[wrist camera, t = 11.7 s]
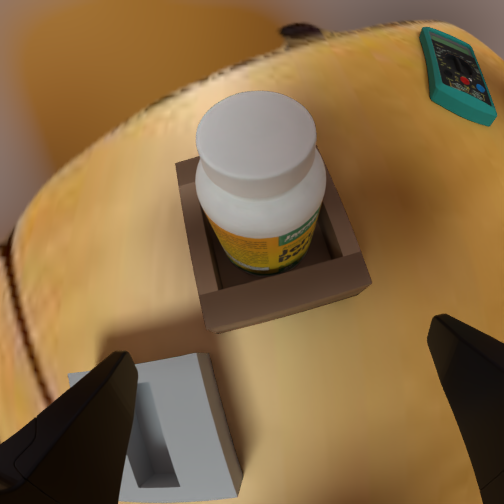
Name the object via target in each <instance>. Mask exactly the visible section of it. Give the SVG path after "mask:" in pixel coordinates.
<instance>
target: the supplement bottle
mask: <svg viewBox="0 0 504 504" xmlns="http://www.w3.org/2000/svg"><path fill="white" fill-rule="evenodd" d="M316 137H317V134H316V127H315V123H314V120H313V118H312V116H311V115H310V113H309V112H308V110H307V109H306V108H305V107H304V106H303V105H301V104H300V103H298V102H297V101H295V100H294V99H292V98H290V97H288V96H285V95H283V94H279V93H275V92H269V91H248V92H242V93H238V94H235V95H232V96H229V97H227V98H225V99H224V100H221V101H220V102H218V103H217V104H215V105H214V106H213V107H212V108H210V109H209V110H208V111H207V112H206V114H205V115H204V116H203V118H202V119H201V121H200V123H199V125H198V128H197V132H196V146H197V150H198V153H199V156H200V160H199V163H198V166H197V170H196V179H195V184H196V192H197V196H198V199H199V201H200V204H201V206H202V208H203V210H204V212H205V214H206V216H207V218H208V220H209V222H210V224H211V226H212V228H213V230H214V231H215V233H216V235H217V237H218V239H219V241H220V243H221V245H222V247H223V249H224V251H225V253H226V255H227V256H228V258H229V259H230V261H231V262H232V263H233V264H234V265H235V266H236V267H238V268H239V269H240V270H242V271H244V272H246V273H248V274H250V275H254V276H259V277H270V276H275V275H279V274H282V273H285V272H287V271H289V270H291V269H293V268H294V267H296V266H297V265H298V264H299V263H300V262H301V260H302V259H303V258H304V256H305V255H306V253H307V251H308V248H309V246H310V243H311V240H312V236H313V233H314V229H315V226H316V222H317V218H318V215H319V211H320V208H321V205H322V201H323V197H324V193H325V188H326V171H325V166H324V163H323V160H322V158H321V155H320V154H319V152H318V150H317V149H316Z"/></svg>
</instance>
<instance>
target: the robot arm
mask: <svg viewBox="0 0 504 504" xmlns="http://www.w3.org/2000/svg"><path fill="white" fill-rule="evenodd" d="M427 343H428V346H429V349H430V352H431V355H432V358H433V361H434V364H435V367H436V370H437V373H438V376H439V379H440V382H441V385H442V387H443V390H444V392H445V394H446V397H447V399H448V401H449V404H450V406H451V409H452V411H453V414H454V416H455V419H456V421H457V424H458V426H459V429H460V432H461V434H462V437H463V440H464V443H465V445H466V448H467V451H468V454H469V457H470V460H471V463H472V466H473V469H474V472H475V476H476V479H477V482H478V486H479V489H480V493H481V497H482V501H483V504H504V343H502V342H500V341H498V340H497V339H495V338H493V337H491V336H489V335H487V334H485V333H483V332H481V331H479V330H477V329H475V328H473V327H471V326H469V325H467V324H465V323H463V322H461V321H459V320H457V319H456V318H454V317H452V316H450V315H448V314H440V315H436V316H434V317H433V319H432V321H431V325H430V329H429V333H428V336H427ZM137 385H138V370H137V368H136V366H135V364H134V362H133V360H132V358H131V356H130V354H129V352H127V351H114V352H113V353H112V354H110V355H109V356H108V357H107V358H105V359H104V360H103V361H102V362H101V363H99V364H98V365H97V366H96V367H95V368H93V369H92V370H91V371H90V372H89V373H87V374H86V375H85V376H84V377H83V378H81V379H80V380H79V381H78V382H77V383H75V384H74V385H73V386H72V387H71V388H69V389H68V390H67V391H66V392H65V393H64V394H62V395H61V396H60V397H59V398H58V399H56V400H55V401H54V402H53V403H52V404H50V405H49V406H48V407H47V408H46V409H44V410H43V411H42V412H41V413H40V414H39V415H37V418H36V417H35V418H34V419H33V420H31V421H30V422H29V423H28V424H27V425H25V426H24V427H23V428H22V429H20V430H19V431H18V432H17V433H15V434H14V435H13V436H11V437H10V438H9V439H7V440H6V441H4V442H3V443H2V444H0V504H118V501H119V494H120V488H121V482H122V476H123V471H124V465H125V460H126V455H127V449H128V444H129V440H130V435H131V430H132V425H133V420H134V412H135V402H136V393H137Z"/></svg>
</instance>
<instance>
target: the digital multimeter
mask: <svg viewBox="0 0 504 504" xmlns="http://www.w3.org/2000/svg"><path fill="white" fill-rule="evenodd" d="M419 39H420V42H421V45H422V48H423V51H424V55H425V59H426V64H427V70H428V78H429V89H430V99H431V100H432V101H433V102H435V103H436V104H438V105H440V106H442V107H443V108H445V109H447V110H449V111H451V112H453V113H455V114H457V115H459V116H461V117H463V118H465V119H467V120H470V121H473V122H476V123H479V124H482V125H485V126H490V125H491V124H492V123H493V121H494V120H495V118H496V117H497V112H496V109H495V106H494V104H493V101H492V98H491V95H490V92H489V90H488V87H487V85H486V82H485V79H484V77H483V74H482V72H481V69H480V67H479V64H478V62H477V59H476V56H475V54H474V51H473V49H472V47H471V46H470V45H469V44H467V43H465V42H463V41H461V40H459V39H457V38H455V37H453V36H451V35H448V34H446V33H444V32H441V31H439V30H436V29H433V28H430V27H422V30H421V34H420V37H419ZM432 43H433V44H432ZM434 50H435V51H434ZM435 54H436V55H435ZM452 54H453V55H452ZM457 56H458V57H457ZM439 70H440V71H439ZM440 74H441V75H440Z"/></svg>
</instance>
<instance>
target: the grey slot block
mask: <svg viewBox="0 0 504 504" xmlns="http://www.w3.org/2000/svg"><path fill="white" fill-rule="evenodd" d="M135 366H136V368H137V370H138V385H137V393H136V402H135V412H134V420H133V425H132V430H131V435H130V440H129V444H128V449H127V455H126V460H125V465H124V471H123V476H122V482H121V488H120V494H119V501H124V502H148V503H171V502H195V501H208V500H219V499H228V498H235V497H238V494H239V490H240V487H241V483H242V480H243V474H242V471H241V468H240V464H239V461H238V458H237V455H236V451H235V448H234V445H233V441H232V438H231V434H230V431H229V427H228V424H227V420H226V417H225V413H224V410H223V406H222V402H221V399H220V395H219V391H218V387H217V383H216V379H215V375H214V371H213V367H212V363H211V359H210V355H209V353H193V354H188V355H183V356H178V357H173V358H168V359H162V360H157V361H151V362H146V363H140V364H135ZM89 372H90V371H86V372H78V373H69V374H68V378H69V383H70V388H71V387H72V386H73V385H74V384H75V383H77V382H78V381H79V380H80V379H81V378H83V377H84V376H85V375H86V374H87V373H89Z"/></svg>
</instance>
